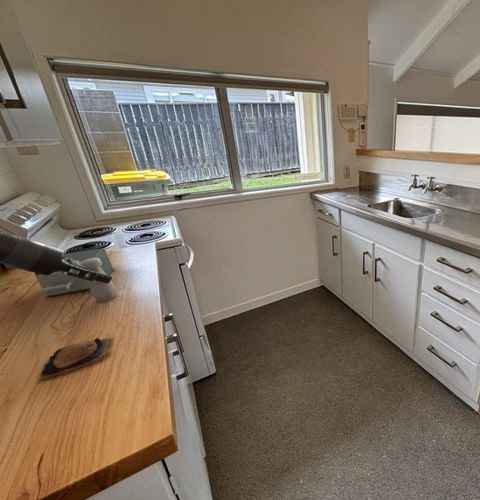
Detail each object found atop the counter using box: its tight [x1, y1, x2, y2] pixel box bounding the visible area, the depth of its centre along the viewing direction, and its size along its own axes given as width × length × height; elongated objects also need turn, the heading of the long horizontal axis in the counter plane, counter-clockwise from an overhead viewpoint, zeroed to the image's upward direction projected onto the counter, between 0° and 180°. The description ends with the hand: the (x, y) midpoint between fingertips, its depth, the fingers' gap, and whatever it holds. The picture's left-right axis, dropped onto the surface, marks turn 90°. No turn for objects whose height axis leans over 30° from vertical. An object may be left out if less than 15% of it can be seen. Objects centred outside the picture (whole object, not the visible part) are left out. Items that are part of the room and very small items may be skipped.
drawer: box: [35, 271, 90, 297], centre depth 91 cm, size 19×12×7 cm, turn 21°
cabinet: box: [34, 247, 114, 298], centre depth 95 cm, size 15×13×9 cm
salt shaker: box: [81, 258, 117, 302], centre depth 84 cm, size 6×6×13 cm
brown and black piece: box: [40, 337, 109, 381], centre depth 62 cm, size 11×8×4 cm
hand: (105, 277), depth 85 cm, fingers open, 7 cm apart
